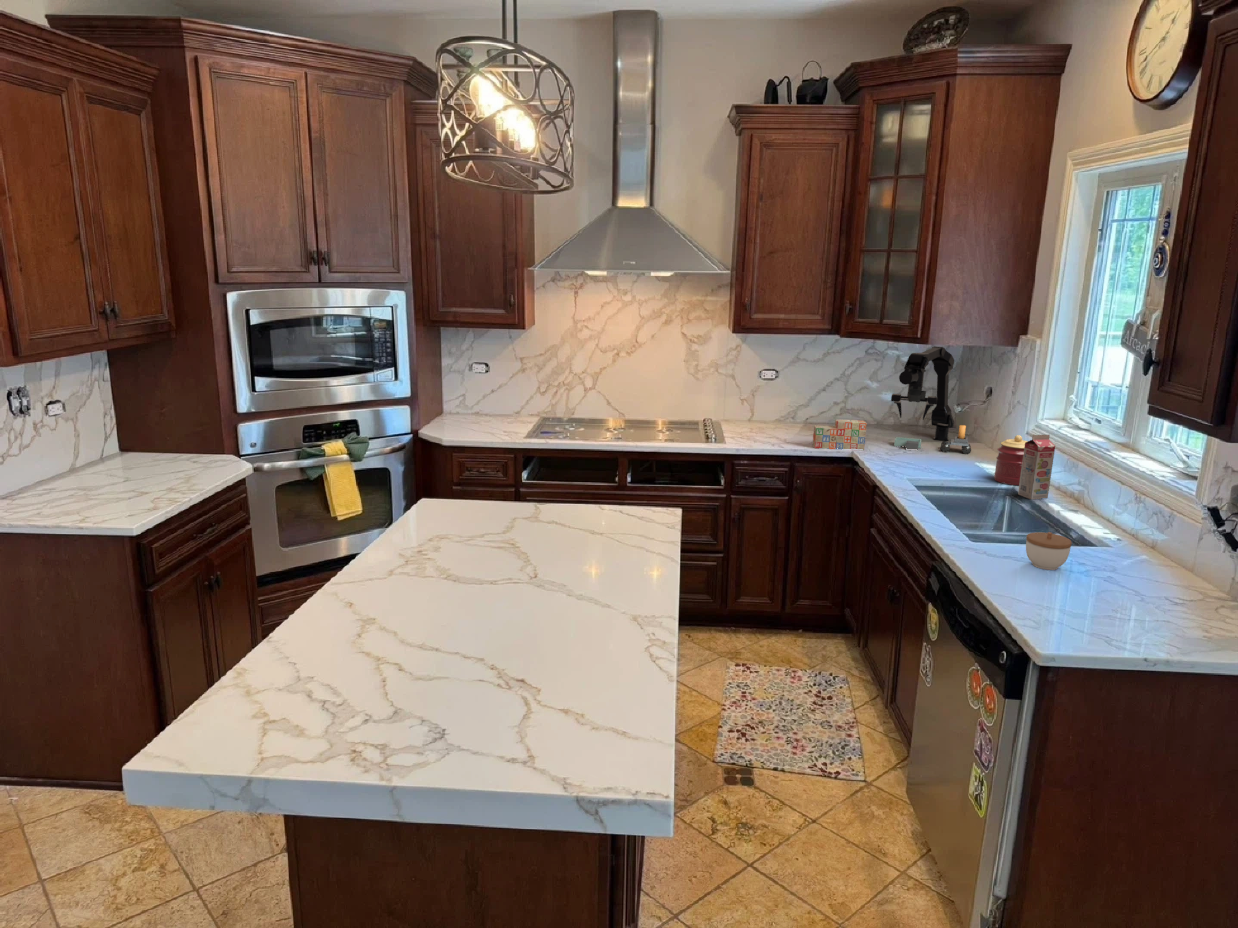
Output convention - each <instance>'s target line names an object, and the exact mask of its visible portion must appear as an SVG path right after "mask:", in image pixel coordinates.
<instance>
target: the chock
mask: <svg viewBox="0 0 1238 928" xmlns="http://www.w3.org/2000/svg"><path fill="white" fill-rule="evenodd" d="M918 444H919V442H918V441H907V442H906V447H905V449H906V448H907V449H917V450H918V451H919V449H918Z"/></svg>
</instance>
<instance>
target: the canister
mask: <svg viewBox="0 0 1238 928" xmlns="http://www.w3.org/2000/svg"><path fill="white" fill-rule="evenodd" d="M1028 441H1029V440H1025V439H1023V437H1022V436H1021V435H1020V434H1019V435H1018V434H1017V435H1016V436H1014V438H1011V439H1010V438H1009V439H1005V440H1004V441H1000V445H1001V446H1000V447H998V448H997V451H998V455H997V456H996V458H995V459H996V463H995V471H994V473H993V474H994V475H993V476H994V480H995V481H996V482H999V483H1001V484H1004V485H1011V486H1019V483H1020V476H1021V469H1022V462H1023V454H1024V447H1025V443H1026V442H1028Z"/></svg>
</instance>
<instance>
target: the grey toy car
mask: <svg viewBox="0 0 1238 928" xmlns="http://www.w3.org/2000/svg"><path fill="white" fill-rule="evenodd" d="M950 446H961V452H962V453H963V454H964V455H969V454H971V452H972V447H971V444H970V443H969V437H968V436H967V437H966V436H965V439H959V438H958V435H957V436H956V435H955V436H954V438H950V441H945V440H942V441H941V443H940V450H941V452H942V453H948V452H949V451H950V450H951V448H950Z"/></svg>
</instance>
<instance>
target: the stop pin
mask: <svg viewBox="0 0 1238 928" xmlns="http://www.w3.org/2000/svg"><path fill="white" fill-rule="evenodd" d="M966 428H967V425H965V424H960V425H959V428H958V435H957V437H958V438H959V439H965V437H966Z"/></svg>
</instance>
